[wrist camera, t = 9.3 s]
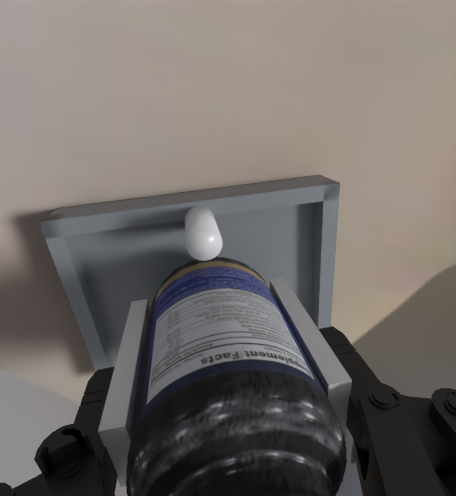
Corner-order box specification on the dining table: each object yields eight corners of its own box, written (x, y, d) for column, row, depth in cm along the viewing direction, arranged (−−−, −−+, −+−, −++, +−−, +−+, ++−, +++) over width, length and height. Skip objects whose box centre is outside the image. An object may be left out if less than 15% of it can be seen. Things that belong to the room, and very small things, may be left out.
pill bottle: (243, 360, 17) (331, 701, 7) (137, 340, 15) (60, 749, 5) (288, 270, 15) (501, 569, 5) (172, 235, 13) (150, 581, 3)
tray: (112, 368, 20) (91, 447, 15) (57, 208, 15) (1, 249, 10) (314, 331, 21) (353, 393, 16) (320, 175, 16) (377, 198, 12)
